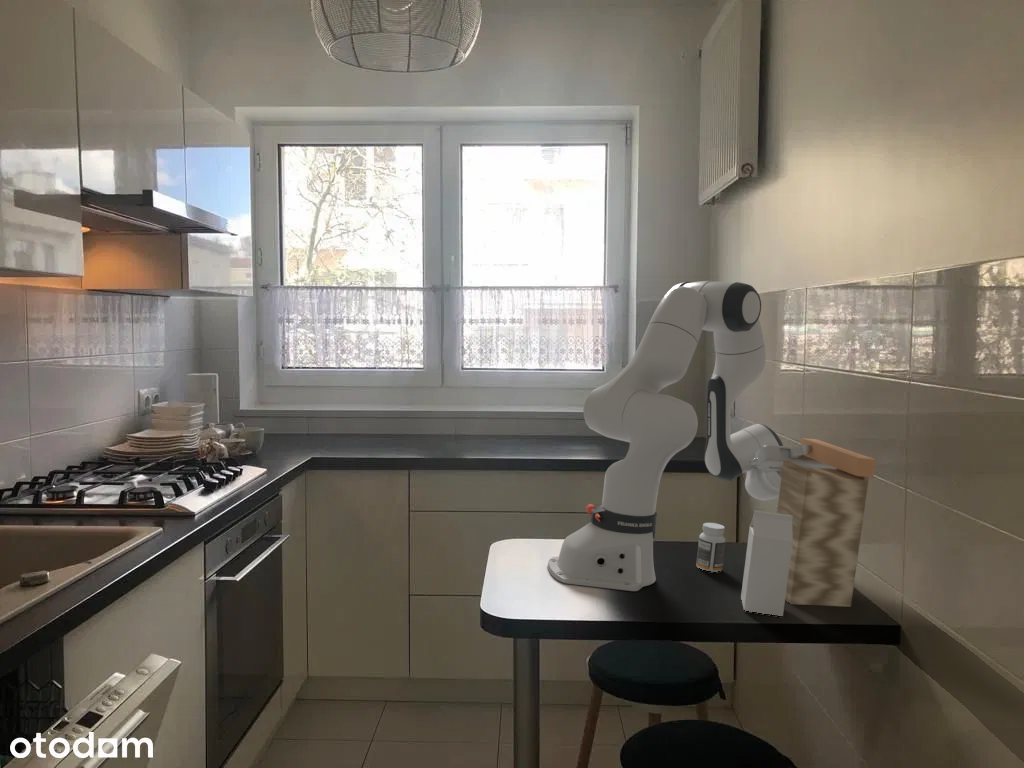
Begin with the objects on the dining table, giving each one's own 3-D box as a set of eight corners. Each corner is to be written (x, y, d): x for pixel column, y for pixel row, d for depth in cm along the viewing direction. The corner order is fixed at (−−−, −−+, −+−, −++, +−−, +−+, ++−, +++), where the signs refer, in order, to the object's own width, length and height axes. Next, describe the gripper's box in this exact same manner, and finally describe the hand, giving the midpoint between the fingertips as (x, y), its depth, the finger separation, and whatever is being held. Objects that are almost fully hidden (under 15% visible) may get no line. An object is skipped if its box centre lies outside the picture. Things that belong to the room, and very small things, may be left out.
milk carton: (782, 618, 145) (795, 520, 143) (743, 612, 146) (756, 514, 144) (777, 605, 152) (789, 511, 150) (740, 599, 153) (752, 506, 151)
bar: (856, 475, 147) (858, 458, 147) (799, 453, 169) (801, 438, 169) (873, 477, 148) (875, 459, 147) (814, 454, 169) (816, 439, 169)
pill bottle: (717, 565, 173) (722, 522, 172) (725, 574, 168) (730, 530, 167) (692, 563, 173) (697, 520, 172) (699, 572, 168) (704, 528, 167)
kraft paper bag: (790, 604, 153) (807, 471, 150) (767, 585, 163) (783, 460, 160) (850, 606, 155) (869, 475, 152) (824, 588, 165) (841, 464, 162)
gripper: (744, 451, 177) (772, 430, 164) (827, 458, 179) (861, 438, 167) (747, 477, 174) (775, 458, 162) (831, 484, 177) (865, 465, 164)
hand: (819, 448), depth 164 cm, fingers closed on bar, 3 cm apart
